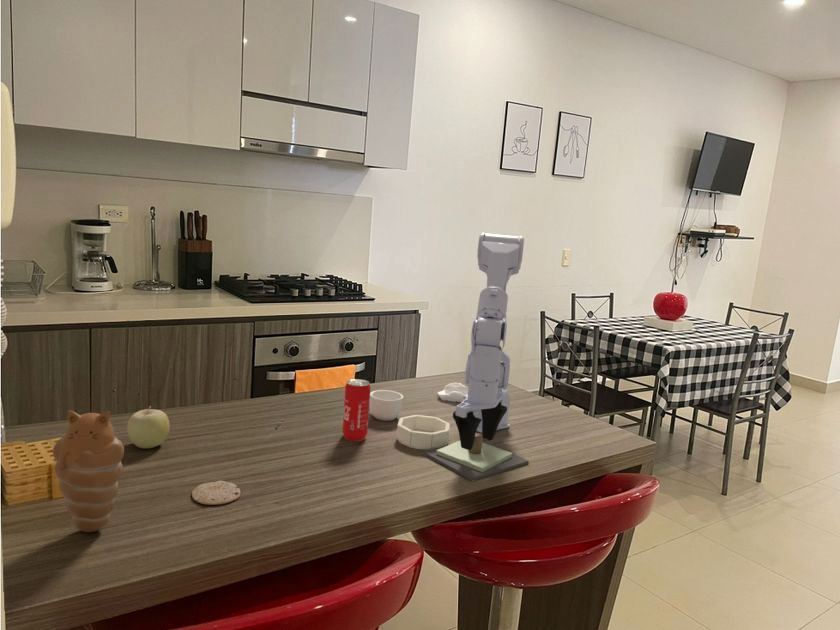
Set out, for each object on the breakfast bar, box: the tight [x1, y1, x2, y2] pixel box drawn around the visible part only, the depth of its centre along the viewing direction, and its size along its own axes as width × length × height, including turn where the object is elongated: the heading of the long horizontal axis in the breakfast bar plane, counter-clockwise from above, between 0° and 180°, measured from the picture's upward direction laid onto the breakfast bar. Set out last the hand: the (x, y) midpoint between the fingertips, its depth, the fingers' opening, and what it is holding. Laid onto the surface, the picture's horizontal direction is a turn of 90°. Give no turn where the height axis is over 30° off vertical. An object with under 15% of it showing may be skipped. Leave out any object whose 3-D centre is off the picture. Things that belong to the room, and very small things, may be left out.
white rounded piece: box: [437, 382, 469, 403], centre depth 165 cm, size 10×4×10 cm
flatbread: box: [191, 479, 241, 506], centre depth 103 cm, size 8×8×1 cm
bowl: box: [396, 414, 451, 451], centre depth 134 cm, size 11×11×4 cm
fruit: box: [126, 405, 171, 450], centre depth 119 cm, size 8×7×8 cm
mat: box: [422, 438, 530, 482], centre depth 127 cm, size 16×14×1 cm
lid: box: [436, 432, 513, 472], centre depth 126 cm, size 11×11×4 cm
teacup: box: [369, 389, 404, 422], centre depth 146 cm, size 10×8×5 cm
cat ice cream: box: [52, 409, 125, 533], centre depth 88 cm, size 9×8×18 cm
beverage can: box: [342, 378, 371, 442], centre depth 131 cm, size 5×5×12 cm
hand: (477, 443), depth 126 cm, fingers open, 7 cm apart
